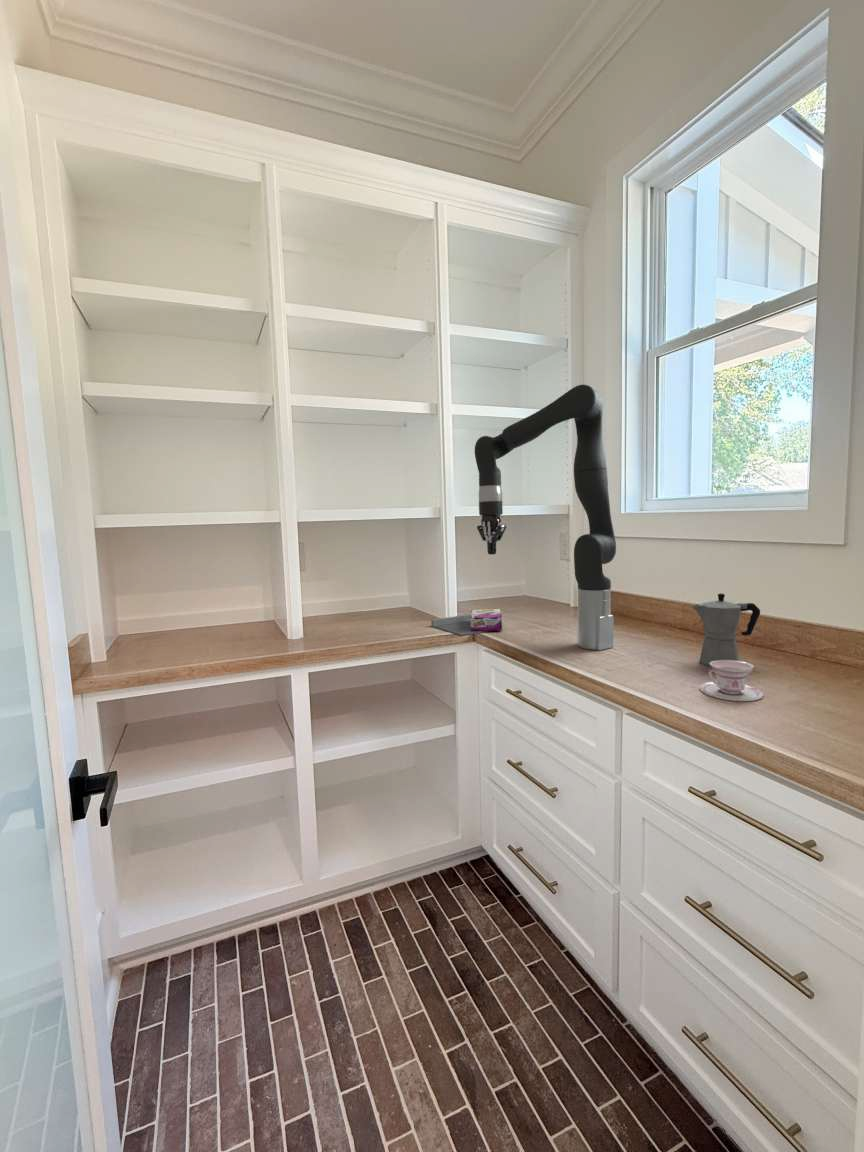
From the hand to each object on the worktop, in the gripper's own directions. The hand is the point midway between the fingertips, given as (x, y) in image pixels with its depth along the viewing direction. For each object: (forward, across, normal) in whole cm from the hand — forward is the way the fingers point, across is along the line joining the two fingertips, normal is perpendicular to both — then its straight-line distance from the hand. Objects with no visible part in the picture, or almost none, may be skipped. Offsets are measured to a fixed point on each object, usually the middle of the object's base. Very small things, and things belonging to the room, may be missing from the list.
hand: (491, 554), depth 172 cm
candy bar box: (+24, +5, -1) cm, 25 cm away
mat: (+27, +15, 0) cm, 31 cm away
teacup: (+28, -75, -6) cm, 80 cm away
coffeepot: (+28, -62, -26) cm, 72 cm away
